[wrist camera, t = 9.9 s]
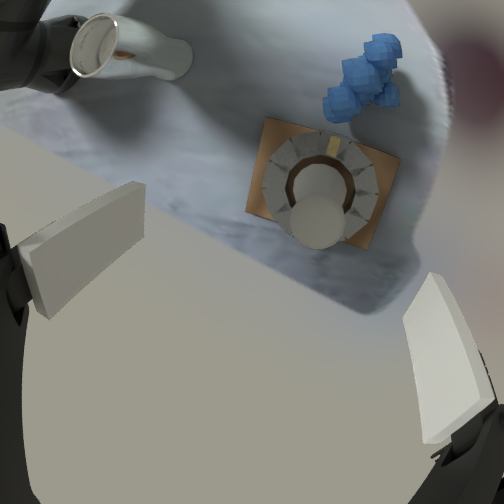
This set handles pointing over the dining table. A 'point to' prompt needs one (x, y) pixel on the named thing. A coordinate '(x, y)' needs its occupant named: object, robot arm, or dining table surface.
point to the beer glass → (126, 50)
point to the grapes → (365, 80)
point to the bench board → (281, 131)
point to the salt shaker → (318, 206)
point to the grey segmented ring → (331, 147)
